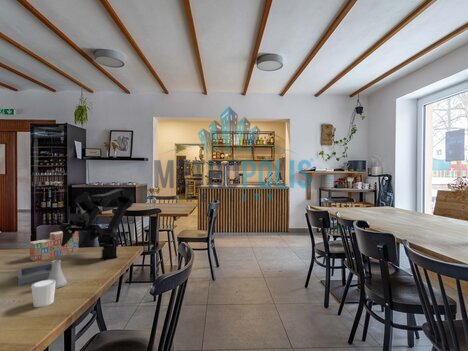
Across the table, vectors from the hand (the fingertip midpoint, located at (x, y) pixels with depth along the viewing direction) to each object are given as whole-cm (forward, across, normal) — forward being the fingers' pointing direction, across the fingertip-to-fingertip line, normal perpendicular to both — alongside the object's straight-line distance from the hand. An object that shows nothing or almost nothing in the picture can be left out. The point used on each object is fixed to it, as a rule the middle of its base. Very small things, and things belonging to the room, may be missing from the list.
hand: (71, 246), depth 111 cm
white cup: (+25, +7, -5) cm, 26 cm away
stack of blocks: (-9, -32, +28) cm, 44 cm away
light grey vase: (+16, 0, +4) cm, 16 cm away
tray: (+10, -15, +9) cm, 20 cm away
